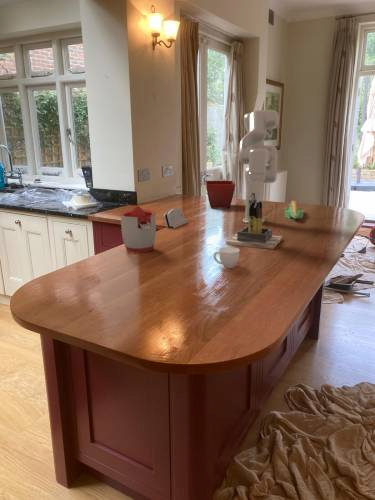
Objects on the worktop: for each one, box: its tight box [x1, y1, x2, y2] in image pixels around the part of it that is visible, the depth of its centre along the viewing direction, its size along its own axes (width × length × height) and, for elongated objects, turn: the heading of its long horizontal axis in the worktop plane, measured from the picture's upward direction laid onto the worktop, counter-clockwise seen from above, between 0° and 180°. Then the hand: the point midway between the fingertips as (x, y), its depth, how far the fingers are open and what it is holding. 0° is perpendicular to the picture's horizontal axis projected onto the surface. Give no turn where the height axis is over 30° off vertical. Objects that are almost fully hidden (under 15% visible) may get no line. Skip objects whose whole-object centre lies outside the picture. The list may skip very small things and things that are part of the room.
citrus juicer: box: [119, 205, 157, 254], centre depth 178 cm, size 16×17×20 cm
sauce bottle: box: [248, 202, 263, 234], centre depth 189 cm, size 7×6×20 cm
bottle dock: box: [225, 225, 283, 250], centre depth 191 cm, size 18×22×6 cm
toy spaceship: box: [284, 200, 304, 220], centre depth 243 cm, size 32×10×7 cm, turn 168°
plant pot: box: [205, 180, 236, 209], centre depth 278 cm, size 19×19×17 cm
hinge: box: [163, 208, 188, 229], centre depth 228 cm, size 17×5×10 cm, turn 152°
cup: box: [213, 246, 241, 269], centre depth 157 cm, size 8×10×7 cm
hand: (255, 214), depth 188 cm, fingers open, 9 cm apart
